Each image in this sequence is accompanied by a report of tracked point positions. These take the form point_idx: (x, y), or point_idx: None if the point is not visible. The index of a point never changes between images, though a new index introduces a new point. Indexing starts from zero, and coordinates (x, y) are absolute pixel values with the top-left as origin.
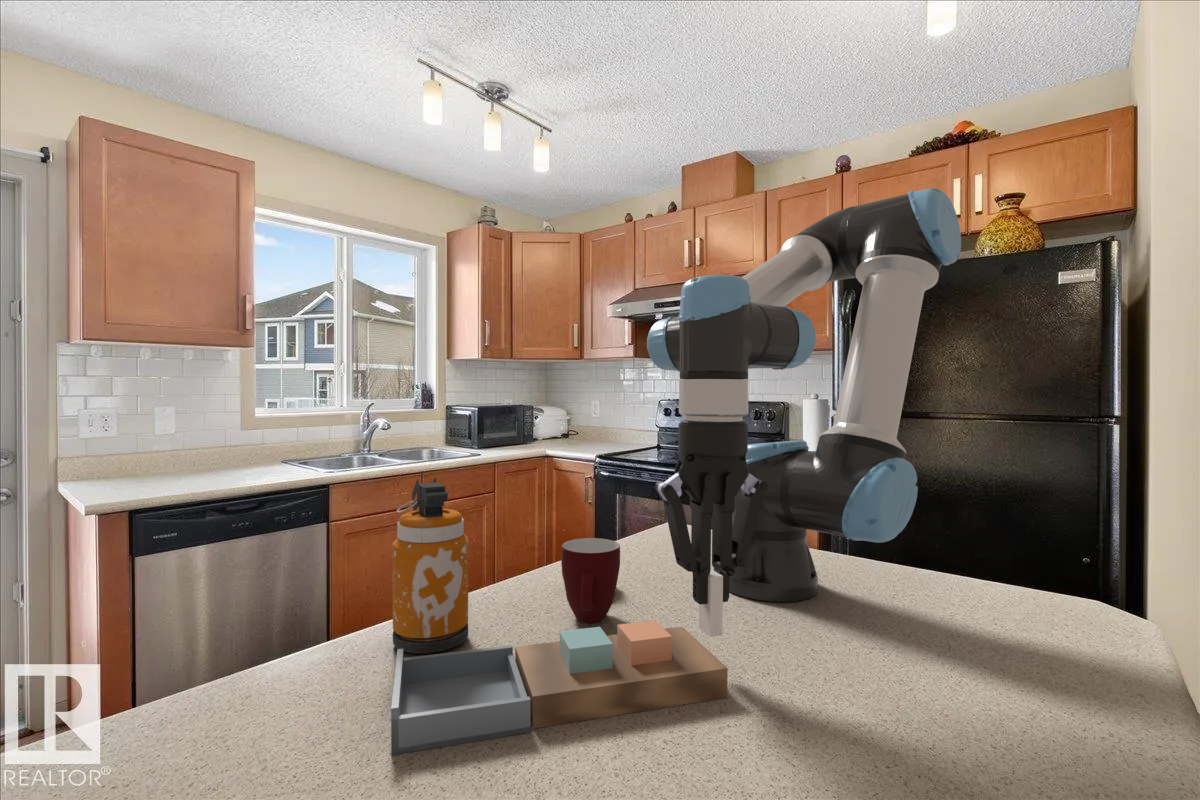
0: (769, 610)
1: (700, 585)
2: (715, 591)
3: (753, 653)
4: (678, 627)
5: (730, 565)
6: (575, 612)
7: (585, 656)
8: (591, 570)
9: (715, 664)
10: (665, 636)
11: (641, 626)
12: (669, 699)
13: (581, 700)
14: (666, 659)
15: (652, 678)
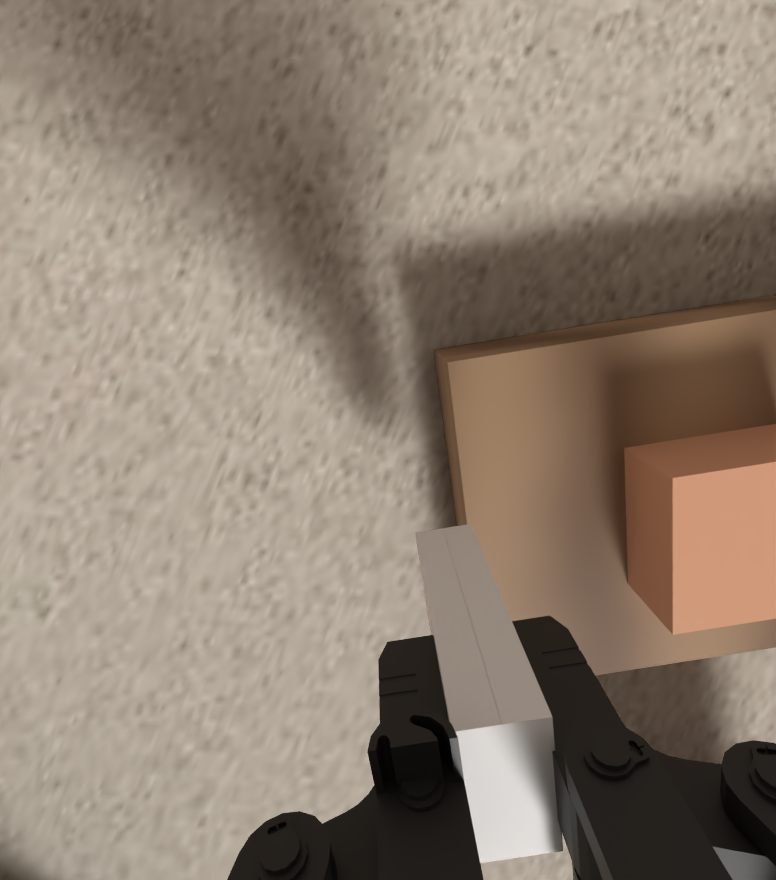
0: (93, 868)
1: (585, 691)
2: (488, 650)
3: (249, 605)
4: None
5: (391, 817)
6: None
7: None
8: None
9: (479, 397)
10: (697, 481)
11: (755, 582)
12: (638, 320)
13: None
14: (645, 447)
15: (743, 320)
